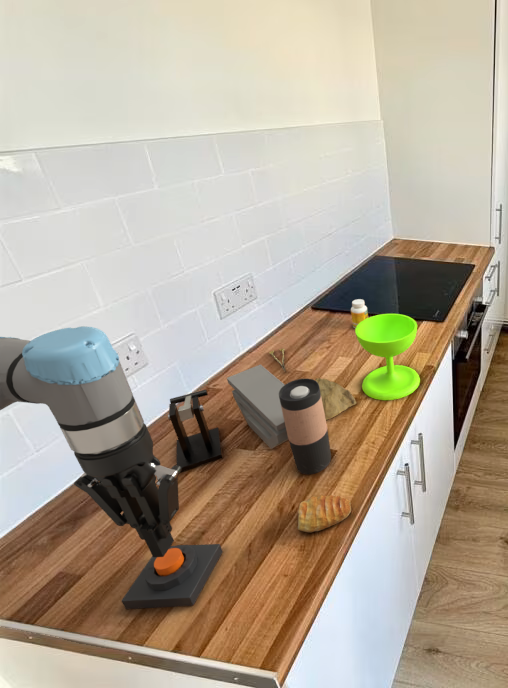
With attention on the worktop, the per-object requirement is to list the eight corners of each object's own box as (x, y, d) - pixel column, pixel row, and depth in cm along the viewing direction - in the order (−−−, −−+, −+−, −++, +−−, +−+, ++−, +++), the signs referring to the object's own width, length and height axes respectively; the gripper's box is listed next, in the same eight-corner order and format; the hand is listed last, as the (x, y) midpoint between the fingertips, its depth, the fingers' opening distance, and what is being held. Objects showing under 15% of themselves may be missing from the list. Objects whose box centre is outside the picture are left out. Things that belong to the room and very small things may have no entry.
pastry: (351, 496, 88) (349, 483, 86) (351, 525, 82) (349, 511, 81) (300, 508, 85) (297, 494, 83) (297, 538, 79) (294, 525, 78)
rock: (358, 386, 117) (318, 385, 114) (357, 376, 109) (315, 375, 107) (354, 426, 112) (312, 427, 109) (353, 419, 105) (308, 419, 102)
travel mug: (289, 461, 95) (271, 388, 86) (322, 444, 100) (309, 373, 92) (304, 481, 91) (287, 406, 82) (338, 462, 96) (326, 389, 87)
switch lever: (172, 405, 100) (169, 396, 99) (208, 395, 104) (205, 386, 103) (166, 425, 89) (163, 415, 89) (207, 414, 93) (204, 404, 92)
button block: (125, 609, 67) (116, 594, 66) (162, 554, 75) (155, 539, 74) (193, 605, 68) (186, 590, 67) (222, 551, 76) (217, 537, 75)
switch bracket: (177, 443, 98) (160, 399, 93) (219, 431, 102) (205, 387, 97) (178, 473, 91) (159, 426, 85) (222, 458, 95) (207, 412, 90)
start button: (151, 576, 69) (148, 569, 68) (166, 555, 72) (163, 548, 71) (175, 575, 69) (172, 568, 68) (189, 554, 72) (186, 547, 71)
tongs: (280, 374, 124) (279, 368, 123) (269, 355, 133) (267, 350, 132) (296, 369, 126) (295, 363, 125) (283, 351, 135) (282, 345, 134)
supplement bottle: (353, 323, 152) (350, 298, 148) (369, 322, 154) (366, 297, 149) (352, 330, 148) (349, 305, 143) (368, 329, 149) (365, 304, 145)
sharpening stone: (236, 413, 108) (226, 377, 103) (269, 398, 114) (260, 364, 109) (285, 464, 95) (276, 426, 90) (319, 444, 100) (312, 407, 95)
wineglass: (401, 360, 133) (397, 308, 125) (431, 384, 123) (429, 329, 115) (351, 380, 123) (344, 325, 115) (380, 408, 113) (374, 349, 105)
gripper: (178, 416, 62) (219, 526, 72) (80, 418, 61) (136, 529, 71) (142, 455, 55) (193, 570, 66) (32, 458, 54) (101, 574, 65)
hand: (163, 548), depth 69 cm, fingers closed
